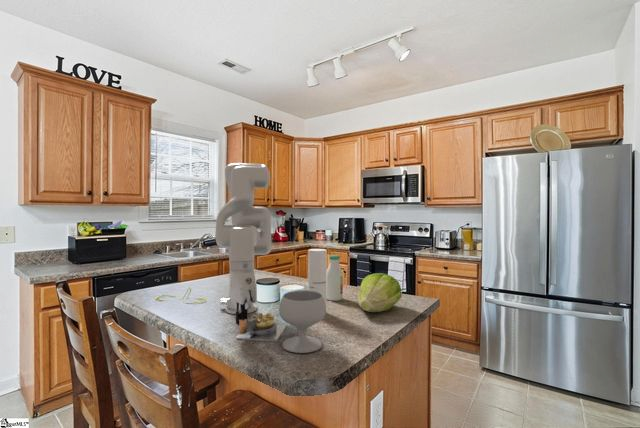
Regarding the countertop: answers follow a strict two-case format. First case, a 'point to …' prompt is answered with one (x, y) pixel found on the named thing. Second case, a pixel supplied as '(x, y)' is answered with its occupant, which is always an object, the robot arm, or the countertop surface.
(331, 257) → the milk bottle
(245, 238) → the robot arm
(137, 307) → the countertop surface
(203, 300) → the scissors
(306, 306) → the chalice
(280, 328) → the cap plate
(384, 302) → the lettuce
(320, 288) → the cylindrical container
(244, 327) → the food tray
